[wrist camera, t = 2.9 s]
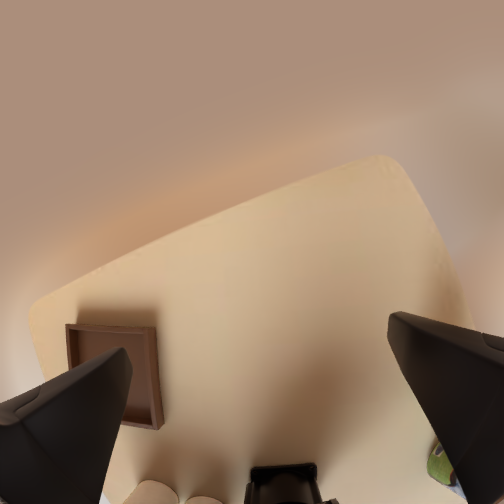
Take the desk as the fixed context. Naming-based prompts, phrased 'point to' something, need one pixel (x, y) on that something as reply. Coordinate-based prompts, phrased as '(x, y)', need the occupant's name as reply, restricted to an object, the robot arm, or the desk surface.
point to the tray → (142, 358)
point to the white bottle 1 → (152, 494)
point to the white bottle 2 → (202, 500)
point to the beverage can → (443, 470)
